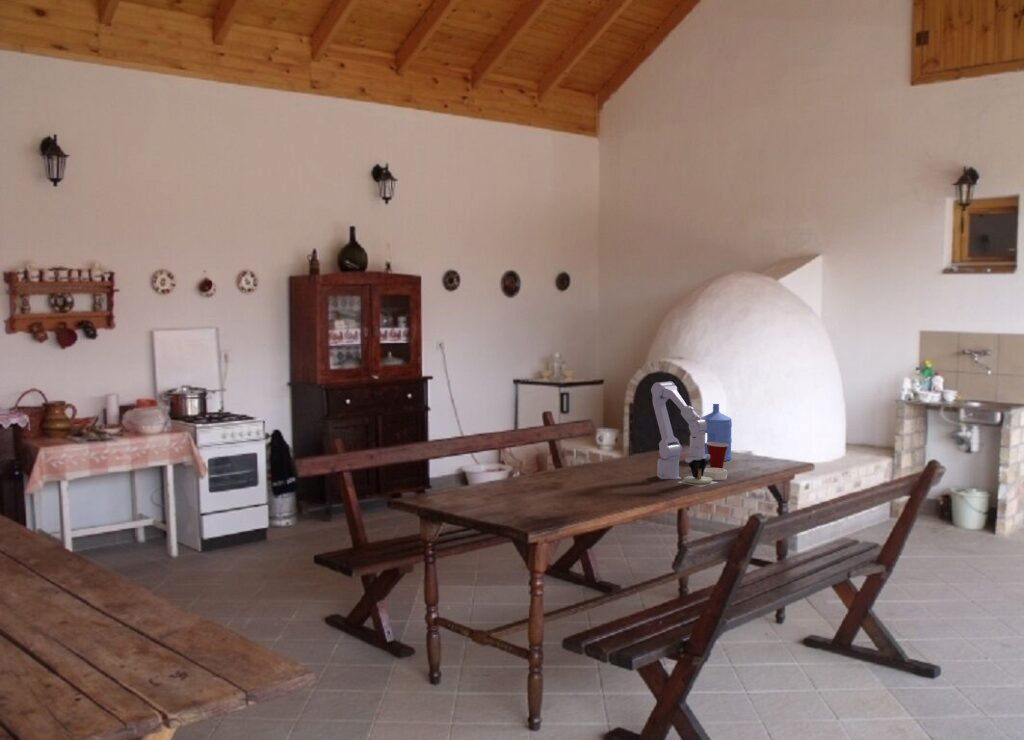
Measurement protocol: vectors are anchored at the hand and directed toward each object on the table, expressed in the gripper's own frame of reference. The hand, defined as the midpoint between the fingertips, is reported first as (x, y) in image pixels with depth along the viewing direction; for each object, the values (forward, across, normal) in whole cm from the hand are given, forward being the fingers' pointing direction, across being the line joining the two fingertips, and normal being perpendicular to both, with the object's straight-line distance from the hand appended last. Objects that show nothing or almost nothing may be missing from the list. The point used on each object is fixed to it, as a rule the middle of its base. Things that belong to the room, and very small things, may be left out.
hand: (697, 476), depth 410 cm
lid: (+2, 0, 0) cm, 2 cm away
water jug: (+3, +54, +33) cm, 63 cm away
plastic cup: (+3, +36, +18) cm, 40 cm away
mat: (+3, 0, 0) cm, 3 cm away
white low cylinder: (+3, +13, +2) cm, 14 cm away
